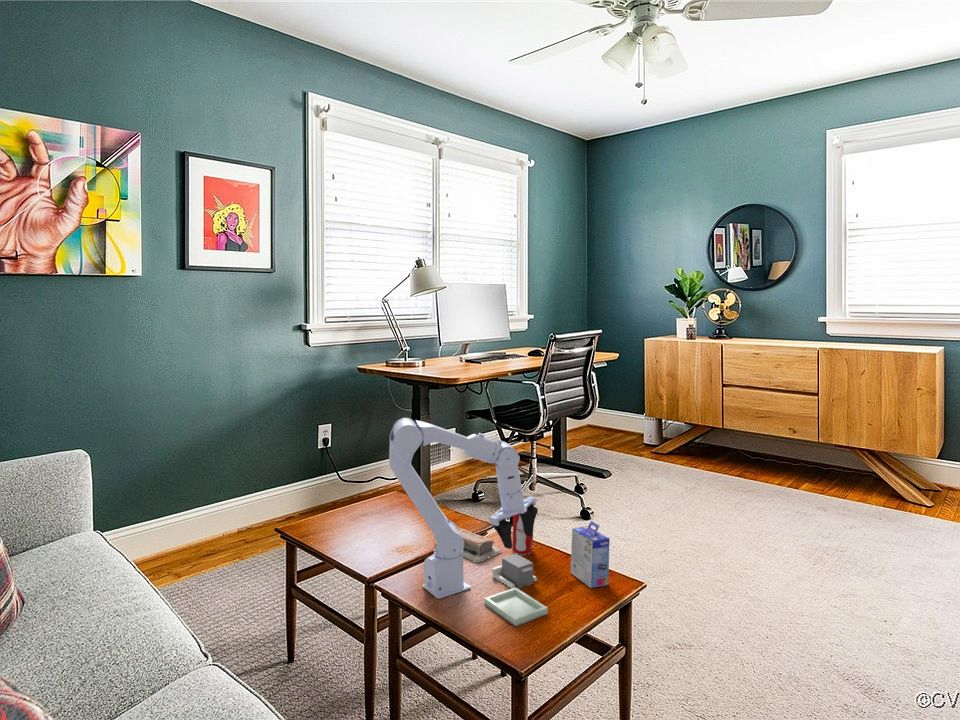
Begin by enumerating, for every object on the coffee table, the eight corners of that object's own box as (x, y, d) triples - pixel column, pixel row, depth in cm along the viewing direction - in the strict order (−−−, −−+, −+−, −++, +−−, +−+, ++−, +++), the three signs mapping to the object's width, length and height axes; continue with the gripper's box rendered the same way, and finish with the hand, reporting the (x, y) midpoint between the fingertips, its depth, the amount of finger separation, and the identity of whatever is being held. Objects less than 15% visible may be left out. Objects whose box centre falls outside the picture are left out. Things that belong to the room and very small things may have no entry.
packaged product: (433, 531, 176) (457, 521, 183) (433, 547, 177) (457, 537, 184) (477, 548, 164) (502, 537, 171) (478, 565, 164) (502, 553, 171)
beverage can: (521, 545, 176) (521, 495, 174) (538, 552, 171) (538, 500, 170) (507, 551, 172) (507, 500, 170) (524, 558, 167) (524, 505, 166)
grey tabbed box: (520, 590, 149) (520, 568, 149) (502, 578, 156) (501, 557, 155) (535, 585, 152) (535, 564, 151) (516, 573, 158) (516, 553, 158)
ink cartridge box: (610, 585, 151) (610, 529, 150) (591, 589, 149) (592, 532, 147) (588, 569, 160) (588, 516, 159) (570, 573, 158) (570, 519, 156)
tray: (515, 626, 132) (515, 619, 132) (484, 604, 142) (484, 597, 142) (547, 613, 138) (547, 607, 137) (515, 593, 147) (515, 587, 147)
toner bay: (510, 589, 149) (510, 579, 149) (492, 577, 156) (491, 568, 156) (537, 580, 154) (537, 570, 154) (518, 569, 161) (518, 559, 160)
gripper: (501, 503, 144) (509, 557, 146) (541, 482, 154) (549, 533, 156) (481, 498, 150) (490, 550, 151) (521, 479, 159) (529, 527, 161)
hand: (518, 541), depth 154 cm, fingers open, 7 cm apart
